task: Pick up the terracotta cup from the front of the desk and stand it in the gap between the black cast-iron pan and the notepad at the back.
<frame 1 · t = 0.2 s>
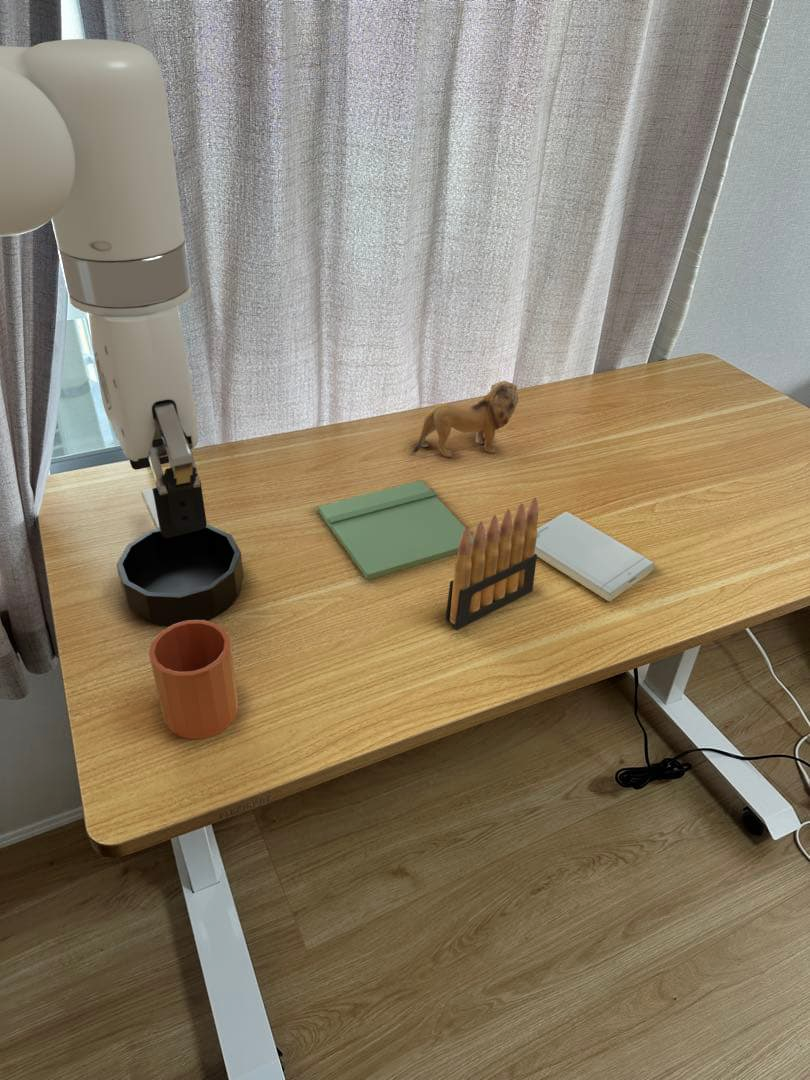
hand: (167, 496, 61), 21 cm above the table, tool pointing down, fingers open, 9 cm apart
pan: (184, 587, 85), on the table
hard drive: (585, 560, 91), on the table
cup: (201, 710, 72), on the table
notepad: (396, 529, 95), on the table
lion figurine: (464, 447, 110), on the table
ammunition clip: (489, 606, 85), on the table
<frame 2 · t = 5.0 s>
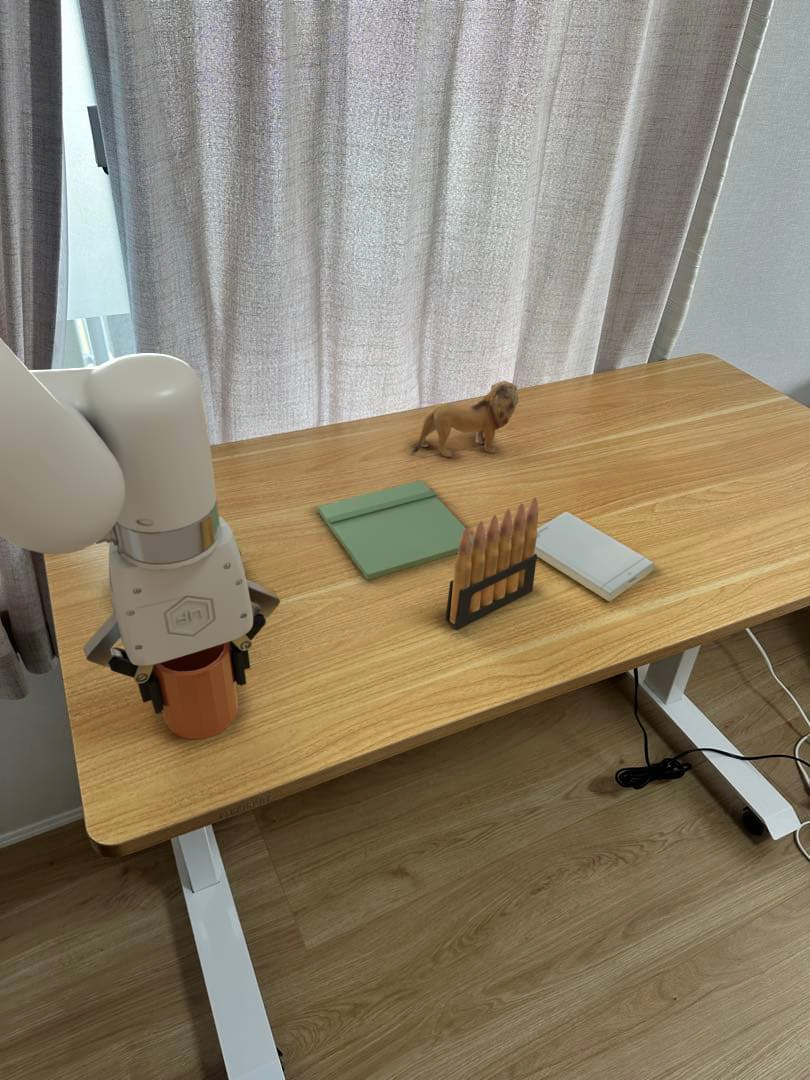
hand: (197, 686, 70), 3 cm above the table, tool pointing down, fingers closed on cup, 6 cm apart
cup: (201, 710, 72), on the table, touching gripper
everything else where it was.
when the fingers open (3 cm above the table, at t = 12.7 s): cup stays where it is, on the table.
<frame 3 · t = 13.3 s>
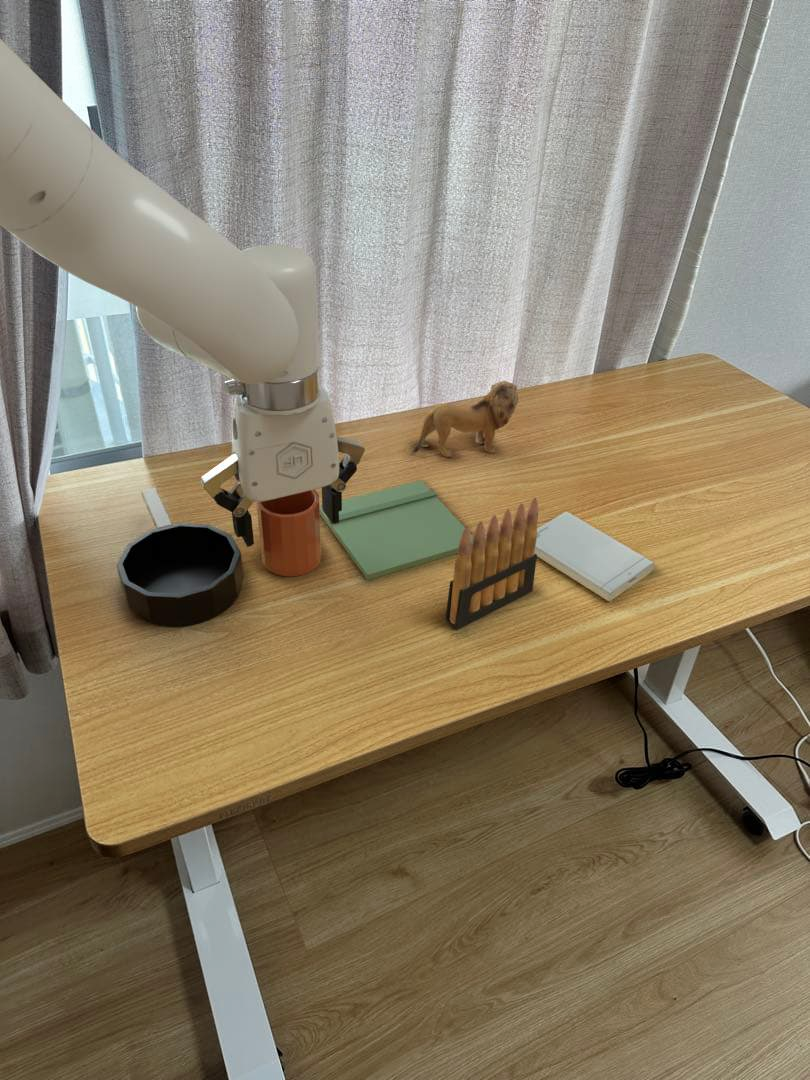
hand: (289, 527, 87), 4 cm above the table, tool pointing down, fingers open, 9 cm apart
cup: (291, 557, 90), on the table
everything else where it was.
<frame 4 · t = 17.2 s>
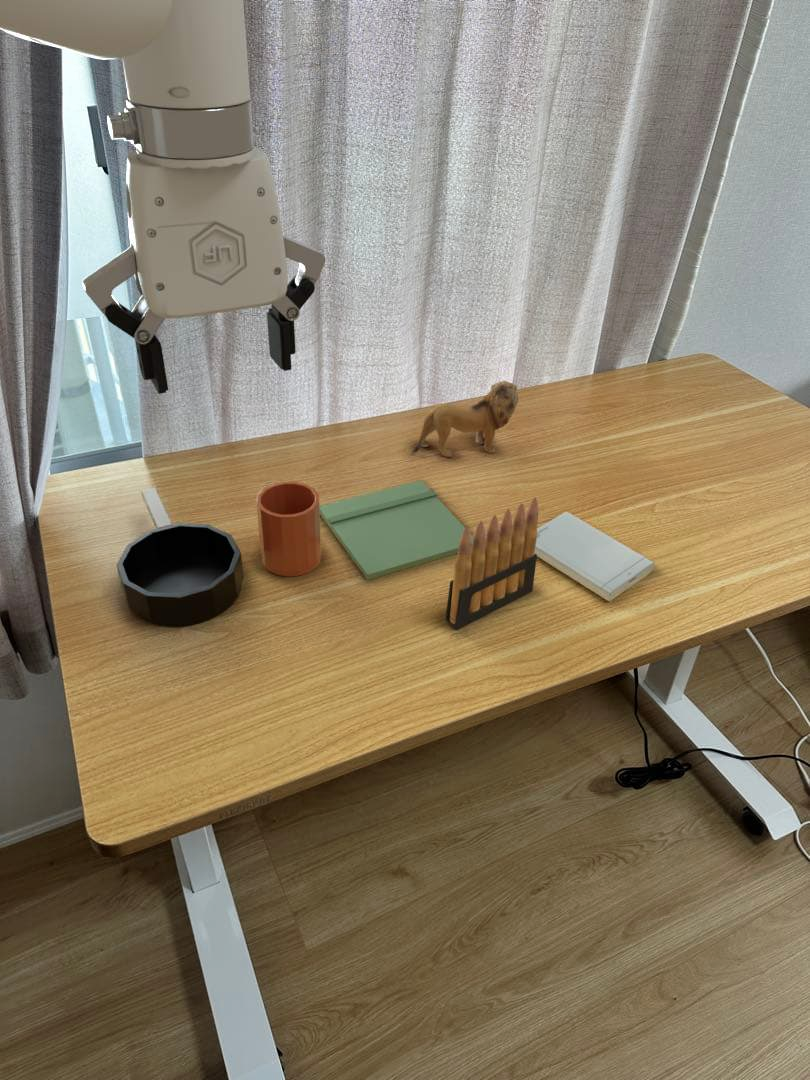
hand: (221, 374, 62), 28 cm above the table, tool pointing down, fingers open, 9 cm apart
nothing on the table moved.
at the end: cup 0.0 cm from the target spot on the table beside the pan, on the table; cup 13.0 cm from the notepad (horizontally); cup tilted 0° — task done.
